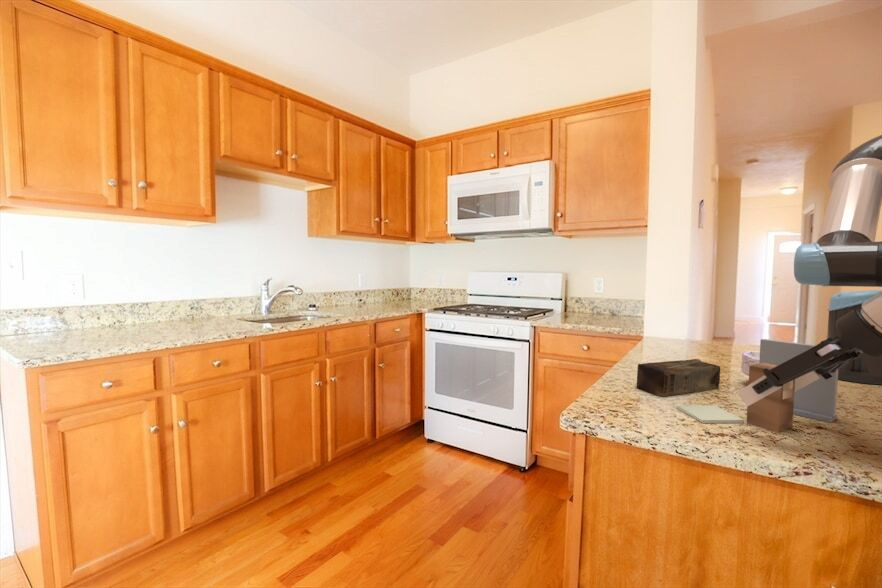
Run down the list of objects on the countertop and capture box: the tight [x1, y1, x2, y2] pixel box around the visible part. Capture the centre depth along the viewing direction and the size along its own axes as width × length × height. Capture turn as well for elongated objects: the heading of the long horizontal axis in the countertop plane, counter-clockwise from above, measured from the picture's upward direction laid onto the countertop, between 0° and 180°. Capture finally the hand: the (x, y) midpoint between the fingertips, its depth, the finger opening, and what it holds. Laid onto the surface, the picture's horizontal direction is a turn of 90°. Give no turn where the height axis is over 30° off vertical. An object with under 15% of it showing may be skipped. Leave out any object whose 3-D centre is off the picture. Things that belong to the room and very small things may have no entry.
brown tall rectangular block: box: [746, 363, 795, 433], centre depth 75 cm, size 5×5×11 cm
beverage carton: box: [636, 358, 721, 398], centre depth 98 cm, size 8×19×7 cm, turn 110°
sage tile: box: [676, 404, 745, 424], centre depth 80 cm, size 8×8×1 cm
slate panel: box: [759, 338, 839, 423], centre depth 82 cm, size 12×4×14 cm, turn 33°
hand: (763, 393), depth 76 cm, fingers open, 13 cm apart
